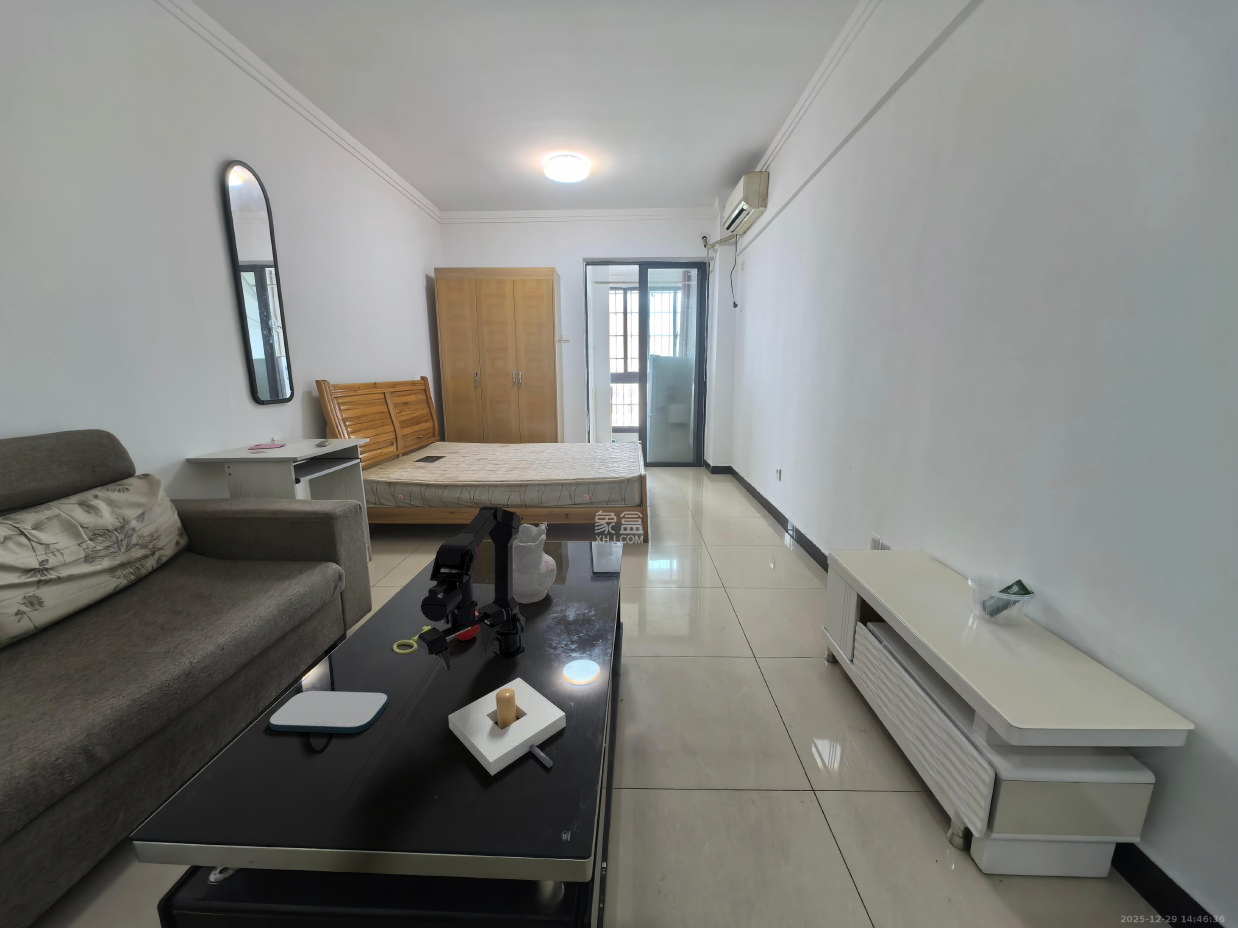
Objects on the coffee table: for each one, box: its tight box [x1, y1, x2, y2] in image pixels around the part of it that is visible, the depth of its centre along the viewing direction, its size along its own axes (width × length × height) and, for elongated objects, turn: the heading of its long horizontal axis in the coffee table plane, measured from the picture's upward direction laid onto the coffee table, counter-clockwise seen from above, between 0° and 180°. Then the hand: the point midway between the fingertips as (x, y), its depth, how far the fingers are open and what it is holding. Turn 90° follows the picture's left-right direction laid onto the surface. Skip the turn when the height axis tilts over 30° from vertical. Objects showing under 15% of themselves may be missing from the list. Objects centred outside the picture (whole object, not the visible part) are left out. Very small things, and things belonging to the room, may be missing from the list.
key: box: [392, 625, 432, 655], centre depth 137 cm, size 7×12×2 cm, turn 175°
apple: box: [453, 610, 481, 641], centre depth 138 cm, size 8×8×10 cm
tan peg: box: [496, 688, 518, 730], centre depth 102 cm, size 4×4×8 cm
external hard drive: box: [268, 690, 389, 734], centre depth 108 cm, size 24×12×2 cm, turn 86°
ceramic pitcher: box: [513, 523, 557, 605], centre depth 160 cm, size 22×20×25 cm
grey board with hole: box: [447, 677, 567, 776], centre depth 100 cm, size 18×24×3 cm
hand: (466, 660), depth 108 cm, fingers open, 9 cm apart
